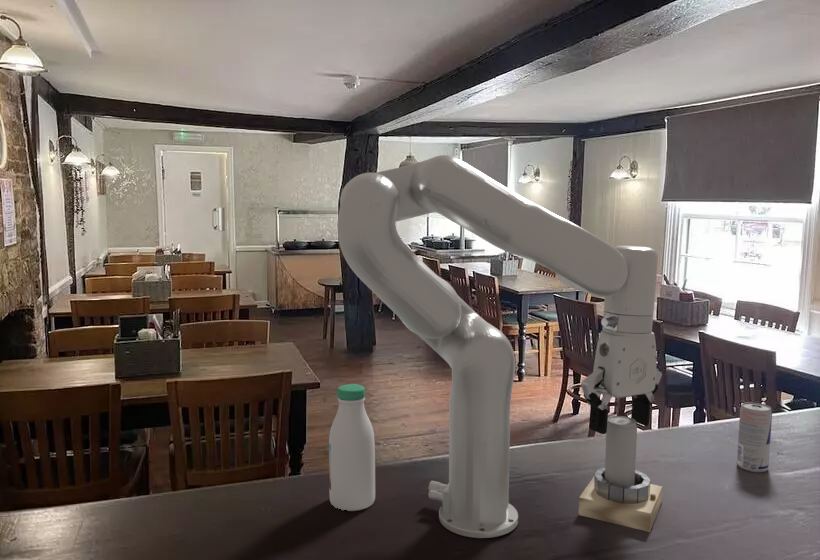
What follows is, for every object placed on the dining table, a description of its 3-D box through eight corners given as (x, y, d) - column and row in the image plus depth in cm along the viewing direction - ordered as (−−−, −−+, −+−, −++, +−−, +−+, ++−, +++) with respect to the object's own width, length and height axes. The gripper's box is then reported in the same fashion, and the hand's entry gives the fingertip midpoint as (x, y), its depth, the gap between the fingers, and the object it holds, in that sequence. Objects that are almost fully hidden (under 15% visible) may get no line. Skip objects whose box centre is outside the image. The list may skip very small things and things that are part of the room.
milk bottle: (384, 501, 110) (384, 386, 108) (350, 517, 105) (349, 396, 102) (354, 487, 115) (352, 378, 113) (320, 502, 110) (318, 387, 107)
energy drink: (769, 465, 125) (773, 405, 123) (767, 475, 120) (771, 412, 119) (738, 459, 128) (741, 400, 126) (735, 468, 123) (738, 407, 122)
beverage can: (639, 490, 107) (642, 420, 106) (626, 499, 104) (630, 427, 102) (611, 481, 111) (614, 413, 109) (598, 491, 107) (601, 420, 106)
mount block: (578, 514, 105) (579, 493, 105) (595, 489, 115) (596, 469, 114) (649, 532, 100) (650, 509, 99) (661, 503, 109) (662, 482, 109)
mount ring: (589, 496, 105) (589, 481, 105) (601, 476, 113) (602, 463, 112) (643, 508, 101) (644, 493, 101) (653, 487, 108) (654, 473, 108)
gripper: (606, 331, 96) (598, 442, 98) (683, 324, 105) (673, 427, 107) (570, 322, 102) (563, 427, 104) (645, 316, 111) (637, 413, 113)
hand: (619, 427), depth 105 cm, fingers open, 9 cm apart
